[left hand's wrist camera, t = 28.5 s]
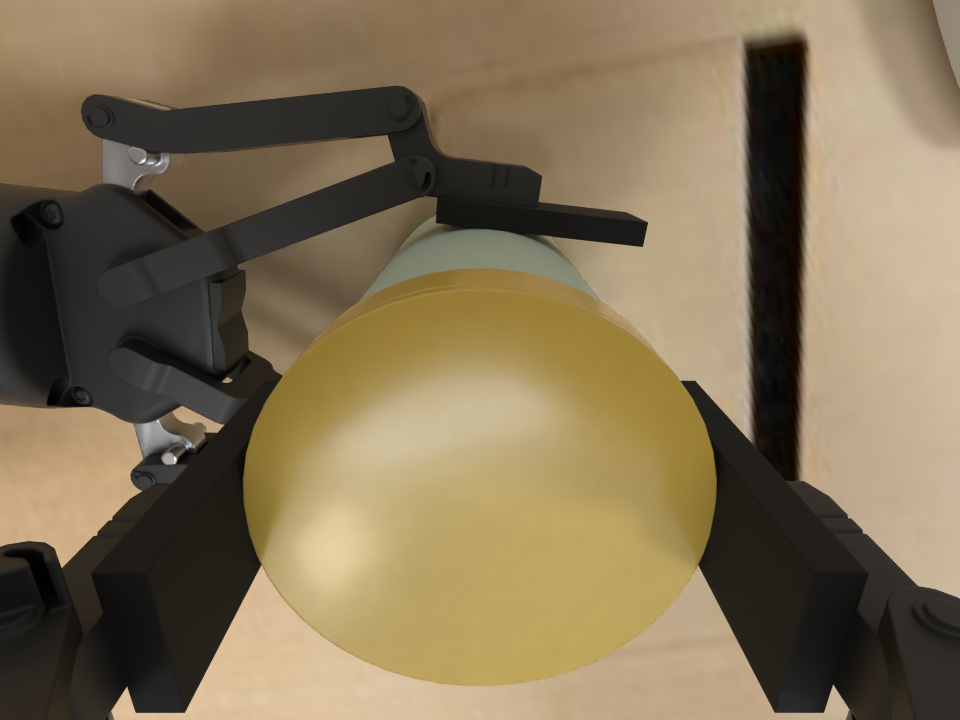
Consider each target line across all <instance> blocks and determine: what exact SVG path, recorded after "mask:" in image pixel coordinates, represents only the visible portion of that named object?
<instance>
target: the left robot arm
mask: <svg viewBox="0 0 960 720" xmlns="http://www.w3.org/2000/svg"><path fill="white" fill-rule="evenodd" d="M278 383H279V381H264V382H263V383H262V384H261V385H260V386H259V388H258V389H257V390H256V391H255V392H254V393H253V394H252V395H251V396H250V397H249V399H248V400H247V401H246V402H245V403H244V404H243V405H242V406H241V407H240V409H239V410H238V411H237V412H236V413H235V414H234V415H233V416H232V417H231V418H230V420H229V421H228V422H227V423H226V424H225V425H224V426H223V427H222V428H221V430H220V431H219V432H218V433H217V434H216V435H215V436H214V437H213V438H212V439H211V441H210V442H209V443H208V444H207V445H206V446H205V447H204V448H203V449H202V450H201V452H200V453H199V454H198V455H197V456H196V457H195V458H194V459H193V460H192V462H191V463H190V464H189V465H188V466H187V467H186V468H185V469H184V470H183V471H182V473H181V474H180V475H179V476H178V477H177V478H176V479H175V480H174V481H173V483H155V484H154V485H152V486H150V487H149V488H147V489H146V490H144V491H142V492H141V493H139V494H137V495H136V496H134V497H132V498H131V499H130V500H129V501H128V502H127V503H126V504H125V505H124V506H123V507H122V508H121V509H120V510H119V511H118V512H117V513H116V514H115V515H114V516H113V519H112V521H108V522H107V523H106V524H105V525H104V526H103V527H102V528H101V529H100V530H99V531H98V534H97V536H93V537H92V538H91V539H90V540H89V541H88V542H87V543H86V544H85V545H84V546H83V547H82V548H81V549H80V550H79V551H78V553H77V554H76V555H75V556H74V557H73V558H72V559H71V560H70V561H69V562H68V563H67V564H66V565H65V566H64V567H63V568H61V565H60V563H59V560H58V557H57V554H56V551H55V549H54V548H53V547H51V546H50V545H48V544H47V543H44V542H32V541H27V542H20V543H14V544H8V545H5V546H1V547H0V720H114V718H113V715H112V712H111V710H112V709H113V707H114V706H115V704H116V703H117V701H118V699H119V698H120V696H121V695H122V693H123V692H124V690H125V689H126V687H128V690H129V693H130V696H131V700H132V703H133V706H134V709H135V712H136V713H185V711H186V710H187V708H188V706H189V704H190V702H191V700H192V698H193V696H194V694H195V692H196V690H197V688H198V686H199V684H200V682H201V681H202V679H203V677H204V675H205V673H206V671H207V669H208V667H209V665H210V663H211V661H212V659H213V657H214V655H215V653H216V652H217V650H218V648H219V646H220V644H221V642H222V640H223V638H224V636H225V634H226V632H227V630H228V628H229V626H230V624H231V623H232V621H233V619H234V617H235V615H236V613H237V611H238V609H239V607H240V605H241V603H242V601H243V599H244V597H245V596H246V594H247V592H248V590H249V588H250V586H251V584H252V582H253V580H254V578H255V576H256V574H257V572H258V570H259V568H260V567H261V565H262V564H261V563H260V561H259V559H258V557H257V554H256V551H255V549H254V546H253V543H252V540H251V537H250V534H249V528H248V523H247V518H246V512H245V507H244V500H243V474H244V466H245V458H246V452H247V448H248V445H249V441H250V438H251V435H252V431H253V428H254V425H255V423H256V421H257V419H258V417H259V415H260V412H261V410H262V408H263V406H264V404H265V402H266V400H267V399H268V397H269V396H270V394H271V393H272V391H273V390H274V388H275V387H276V385H277V384H278ZM681 383H682V384H683V386H684V387H685V389H686V390H687V391H688V393H689V394H690V396H691V397H692V399H693V401H694V403H695V405H696V407H697V409H698V411H699V413H700V415H701V417H702V419H703V421H704V423H705V425H706V429H707V432H708V435H709V439H710V442H711V445H712V448H713V453H714V460H715V467H716V475H717V494H716V504H715V510H714V515H713V521H712V526H711V531H710V536H709V539H708V542H707V545H706V548H705V551H704V554H703V556H702V558H701V560H700V562H699V564H698V565H699V567H700V569H701V571H702V573H703V575H704V577H705V579H706V581H707V583H708V585H709V587H710V588H711V590H712V592H713V594H714V596H715V598H716V600H717V602H718V604H719V606H720V608H721V610H722V612H723V614H724V616H725V617H726V619H727V621H728V623H729V625H730V627H731V629H732V631H733V633H734V635H735V637H736V639H737V641H738V643H739V645H740V646H741V648H742V650H743V652H744V654H745V656H746V658H747V660H748V662H749V664H750V666H751V668H752V670H753V672H754V673H755V675H756V677H757V679H758V681H759V683H760V685H761V687H762V689H763V691H764V693H765V695H766V697H767V699H768V701H769V702H770V704H771V706H772V708H773V710H774V712H775V713H824V711H825V708H826V704H827V701H828V698H829V695H830V692H831V689H832V686H833V685H834V686H835V688H836V689H837V691H838V692H839V694H840V696H841V697H842V699H843V700H844V702H845V703H846V705H847V706H848V708H849V712H848V715H847V718H846V720H960V599H959V598H957V597H955V596H952V595H949V594H947V593H944V592H941V591H938V590H936V589H931V588H925V587H919V586H917V585H916V584H915V583H914V582H913V581H912V580H911V579H910V578H909V576H908V575H907V574H906V573H905V572H904V571H903V570H902V569H901V568H900V567H899V566H898V565H897V564H896V563H895V562H894V561H893V560H892V559H891V558H890V557H889V556H888V555H887V554H886V553H885V552H884V551H883V550H882V549H881V548H880V547H879V546H878V545H877V544H876V543H875V542H874V541H873V540H872V539H871V538H870V537H869V536H868V535H867V534H863V532H862V531H863V530H862V529H861V528H860V527H859V526H858V525H857V524H856V523H855V522H854V521H853V520H852V519H848V515H847V514H846V513H845V512H844V511H843V510H842V509H841V508H840V507H839V506H838V505H837V504H836V503H835V502H834V501H833V500H832V499H831V498H830V497H829V496H828V495H826V494H824V493H823V492H821V491H819V490H818V489H816V488H814V487H813V486H811V485H809V484H808V483H806V482H804V481H785V480H784V479H783V477H782V476H781V475H780V474H779V473H778V472H777V471H776V470H775V469H774V467H773V466H772V465H771V464H770V463H769V462H768V461H767V460H766V459H765V458H764V456H763V455H762V454H761V453H760V452H759V451H758V450H757V449H756V448H755V446H754V445H753V444H752V443H751V442H750V441H749V440H748V439H747V438H746V437H745V435H744V434H743V433H742V432H741V431H740V430H739V429H738V428H737V427H736V425H735V424H734V423H733V422H732V421H731V420H730V419H729V418H728V417H727V416H726V414H725V413H724V412H723V411H722V410H721V409H720V408H719V407H718V406H717V404H716V403H715V402H714V401H713V400H712V399H711V398H710V397H709V396H708V395H707V393H706V392H705V391H704V390H703V389H702V388H701V387H700V386H699V385H698V383H697V382H696V381H681Z"/></svg>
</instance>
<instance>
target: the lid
mask: <svg viewBox="0 0 960 720" xmlns="http://www.w3.org/2000/svg"><path fill="white" fill-rule="evenodd" d="M716 494H717V475H716V467H715V460H714V453H713V448H712V445H711V442H710V439H709V435H708V432H707V429H706V425H705V423H704V421H703V419H702V417H701V415H700V413H699V411H698V409H697V407H696V405H695V403H694V401H693V399H692V397H691V396H690V394H689V393H688V391H687V390H686V389H685V387H684V386H683V384H682V383H681V381H680V380H679V379H678V377H677V376H676V374H675V373H674V372H673V371H672V370H671V368H670V367H669V366H668V365H667V364H666V362H665V361H664V360H663V359H662V358H661V357H660V355H659V354H658V353H657V352H656V351H655V349H654V348H653V347H652V346H651V345H650V344H649V343H648V342H647V340H646V339H645V338H644V337H643V336H642V335H641V334H640V333H639V332H638V331H637V330H636V329H635V328H634V327H633V326H632V325H631V324H630V323H629V322H628V321H626V320H625V319H624V318H623V317H621V316H620V315H619V314H617V313H616V312H615V311H614V310H612V309H611V308H610V307H609V306H607V305H605V304H603V303H602V302H600V301H598V300H597V299H595V298H593V297H591V296H590V295H588V294H586V293H584V292H583V291H580V290H578V289H575V288H573V287H570V286H568V285H566V284H563V283H561V282H558V281H556V280H552V279H549V278H545V277H541V276H537V275H533V274H530V273H526V272H518V271H510V270H502V269H457V270H450V271H442V272H435V273H430V274H426V275H423V276H419V277H415V278H412V279H408V280H404V281H401V282H399V283H397V284H394V285H392V286H389V287H387V288H385V289H382V290H380V291H378V292H375V293H373V294H372V295H370V296H368V297H367V298H365V299H363V300H362V301H360V302H358V303H357V304H355V305H353V306H352V307H350V308H349V309H347V310H346V311H345V312H344V313H342V314H341V315H340V316H339V317H337V318H336V319H335V320H334V321H332V322H331V323H330V324H329V325H327V326H326V328H325V329H324V330H323V331H322V332H321V333H320V334H319V335H318V336H317V337H316V338H315V339H314V340H313V341H312V343H311V344H310V345H309V346H308V347H307V348H306V349H305V351H304V352H303V353H302V354H301V355H300V356H299V358H298V359H297V360H296V361H295V362H294V364H293V365H292V366H291V367H290V368H289V370H288V371H287V372H286V373H285V374H284V375H283V377H282V378H281V380H280V381H279V383H278V384H277V385H276V387H275V388H274V390H273V391H272V393H271V394H270V396H269V397H268V399H267V400H266V402H265V404H264V406H263V408H262V410H261V412H260V415H259V417H258V419H257V421H256V423H255V425H254V428H253V431H252V435H251V438H250V441H249V445H248V448H247V452H246V458H245V466H244V474H243V500H244V507H245V512H246V518H247V523H248V528H249V534H250V537H251V540H252V543H253V546H254V549H255V551H256V554H257V557H258V559H259V561H260V563H261V564H262V566H263V568H264V570H265V572H266V574H267V576H268V578H269V579H270V581H271V582H272V584H273V585H274V586H275V588H276V589H277V591H278V592H279V593H280V595H281V596H282V598H283V599H284V600H285V601H286V602H287V604H288V605H289V606H290V607H291V608H292V609H293V610H294V611H295V612H296V613H297V614H298V615H299V617H300V618H301V619H303V620H304V621H305V622H306V623H307V624H308V625H310V626H311V627H312V628H313V629H314V630H315V631H317V632H318V633H319V634H320V635H321V636H323V637H324V638H326V639H327V640H329V641H330V642H332V643H333V644H335V645H336V646H338V647H339V648H341V649H342V650H344V651H346V652H348V653H350V654H352V655H354V656H356V657H358V658H359V659H361V660H363V661H365V662H368V663H370V664H373V665H375V666H378V667H380V668H383V669H385V670H388V671H390V672H394V673H397V674H401V675H404V676H407V677H411V678H414V679H419V680H425V681H430V682H435V683H441V684H451V685H462V686H498V685H508V684H518V683H525V682H530V681H535V680H540V679H545V678H549V677H552V676H556V675H559V674H562V673H566V672H569V671H572V670H575V669H577V668H580V667H582V666H584V665H587V664H589V663H592V662H594V661H597V660H598V659H600V658H602V657H604V656H606V655H608V654H610V653H611V652H613V651H615V650H617V649H619V648H620V647H622V646H623V645H625V644H626V643H628V642H629V641H631V640H632V639H634V638H635V637H637V636H638V635H639V634H641V633H642V632H643V631H644V630H645V629H647V628H648V627H649V626H650V625H651V624H652V623H653V622H655V621H656V620H657V619H658V618H659V617H660V616H661V615H662V614H663V613H664V612H665V611H666V610H667V609H668V607H669V606H670V605H671V604H672V603H673V602H674V601H675V600H676V599H677V597H678V596H679V595H680V593H681V592H682V590H683V589H684V587H685V586H686V585H687V583H688V582H689V580H690V579H691V577H692V576H693V574H694V572H695V570H696V568H697V566H698V564H699V562H700V560H701V558H702V556H703V554H704V551H705V548H706V545H707V542H708V539H709V536H710V531H711V526H712V521H713V515H714V510H715V504H716Z"/></svg>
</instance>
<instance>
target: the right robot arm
mask: <svg viewBox="0 0 960 720" xmlns="http://www.w3.org/2000/svg"><path fill="white" fill-rule="evenodd" d="M81 114H82V119H83V122H84V123H85V125H86V127H87V129H89V130H90V131H91V132H92V133H93V134H94V135H96V136H98V137H100V138H102V139H103V147H102V184H99V185H95V186H93V187H90V188H89V189H87V190H85V191H83V192H73V191H64V190H55V189H46V188H37V187H28V186H20V185H11V184H2V183H0V404H4V405H15V406H25V407H35V408H71V407H93V408H97V409H100V410H103V411H106V412H108V413H110V414H112V415H114V416H116V417H117V418H119V419H121V420H123V421H126V422H129V423H133V424H134V428H135V431H136V435H137V438H138V441H139V445H140V448H141V452H142V455H143V460H142V461H141V462H140V463H139V464H138V465H137V466H136V467H135V468H134V469H133V470H132V472H131V480H132V482H133V484H134V485H135V486H136V487H137V488H138V489H140V490H142V491H144V490H146V489H147V488H149V487H150V486H152V485H154V484H155V483H173V481H174V480H175V479H176V478H177V477H178V476H179V475H180V474H181V473H182V471H183V470H184V469H185V468H186V467H187V466H188V465H189V464H190V463H191V462H192V460H193V459H194V458H195V457H196V456H197V455H198V454H199V453H200V452H201V450H202V449H203V448H204V447H205V446H206V445H207V444H208V443H209V442H210V441H211V439H212V438H213V437H214V436H215V435H216V434H217V433H206V427H205V426H204V425H203V424H202V423H199V422H198V423H194V424H193V425H192V424H187V423H183V422H181V421H180V420H178V419H177V418H176V417H175V416H174V414H173V412H172V411H173V410H175V409H177V408H179V407H180V406H184V407H186V408H188V409H190V410H192V411H194V412H196V413H198V414H200V415H202V416H204V417H206V418H208V419H210V420H212V421H214V422H216V423H219V424H224V425H225V424H226V423H227V422H228V421H229V420H230V418H231V417H232V416H233V415H234V414H235V413H236V412H237V411H238V410H239V409H240V407H241V406H242V405H243V404H244V403H245V402H246V401H247V400H248V399H249V397H250V396H251V395H252V394H253V393H254V392H255V391H256V390H257V389H258V388H259V386H260V385H261V384H262V383H263V382H264V381H280V380H281V378H282V377H283V376H282V375H281V374H279V373H277V372H276V371H275V370H274V369H273V367H272V364H271V363H270V362H269V361H267V360H266V359H264V358H262V357H260V356H258V355H257V354H255V353H253V352H251V351H249V348H248V330H247V327H246V324H245V321H244V318H243V315H242V311H241V309H242V305H243V301H244V297H245V293H246V279H245V270H239V268H238V266H237V265H238V264H240V263H243V262H245V261H248V260H250V259H253V258H256V257H259V256H261V255H264V254H267V253H270V252H272V251H275V250H278V249H280V248H283V247H286V246H289V245H291V244H294V243H297V242H299V241H302V240H305V239H308V238H310V237H313V236H316V235H319V234H321V233H324V232H327V231H329V230H332V229H335V228H338V227H340V226H343V225H346V224H348V223H351V222H354V221H357V220H359V219H362V218H365V217H368V216H370V215H373V214H376V213H378V212H381V211H384V210H387V209H389V208H392V207H395V206H397V205H400V204H403V203H406V202H408V201H411V200H414V199H417V198H419V197H422V198H423V197H424V196H429V197H438V199H437V211H436V223H437V224H446V225H455V226H464V227H473V228H481V229H490V230H499V231H508V232H516V233H525V234H534V235H543V236H551V237H560V238H569V239H578V240H587V241H595V242H604V243H613V244H622V245H630V246H639V247H643V243H644V239H645V234H646V230H647V225H648V222H646V221H644V220H642V219H639V218H637V217H635V216H633V215H631V214H629V213H627V212H619V211H610V210H602V209H593V208H585V207H576V206H568V205H559V204H550V203H542V202H538V201H539V194H540V187H541V180H542V176H541V175H539V174H538V173H536V172H534V171H533V170H531V169H529V168H527V167H525V166H523V165H514V164H506V163H497V162H489V161H481V160H472V159H464V158H455V157H451V156H448V155H446V154H444V153H443V152H441V151H440V150H439V149H438V147H437V146H436V144H435V142H434V139H433V136H432V132H431V129H430V125H429V121H428V117H427V109H426V106H425V103H424V102H423V101H422V99H421V98H420V97H419V96H417V95H416V94H415V93H414V92H412V91H411V90H409V89H407V88H406V87H402V86H390V87H380V88H371V89H362V90H352V91H343V92H334V93H324V94H315V95H306V96H296V97H287V98H278V99H268V100H259V101H250V102H241V103H231V104H222V105H213V106H203V107H194V108H185V109H177V108H173V107H170V106H166V105H162V104H159V103H155V102H151V101H146V100H138V99H130V98H122V97H114V96H107V95H95V94H94V95H92V96H90V97H87V99H86V100H85V101H84V102H83V104H82V109H81ZM383 135H388V138H389V141H390V145H391V148H392V152H393V155H394V159H395V162H393V163H390V164H387V165H385V166H382V167H379V168H377V169H374V170H372V171H369V172H366V173H364V174H361V175H358V176H356V177H353V178H350V179H348V180H345V181H342V182H340V183H337V184H334V185H332V186H329V187H327V188H324V189H321V190H319V191H316V192H313V193H311V194H308V195H305V196H303V197H300V198H297V199H295V200H292V201H289V202H287V203H284V204H282V205H279V206H276V207H274V208H271V209H268V210H266V211H263V212H260V213H258V214H255V215H252V216H250V217H247V218H244V219H242V220H239V221H237V222H234V223H231V224H229V225H226V226H223V227H220V228H217V229H215V230H212V231H209V232H204V231H203V230H202V229H200V228H199V227H198V226H197V225H195V224H194V223H193V222H192V221H190V220H189V219H188V218H187V217H185V216H184V215H183V214H182V213H180V212H179V211H178V210H176V209H175V208H174V207H173V206H171V205H170V204H169V203H168V202H166V201H165V200H164V199H163V198H161V197H160V196H159V195H158V194H156V193H155V192H154V191H152V190H151V189H150V183H151V181H152V179H153V178H154V177H155V176H156V175H158V174H166V173H174V172H176V171H178V170H179V169H181V167H182V166H183V164H184V160H185V157H186V153H212V152H230V151H239V150H249V149H258V148H268V147H278V146H287V145H297V144H306V143H316V142H326V141H335V140H345V139H354V138H364V137H374V136H383ZM227 377H229V378H231V379H233V381H232V382H230V383H223V382H222V381H223V380H224V379H225V378H227Z"/></svg>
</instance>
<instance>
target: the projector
mask: <svg viewBox="0 0 960 720" xmlns="http://www.w3.org/2000/svg"><path fill="white" fill-rule="evenodd" d="M932 1H933V5H934V8H935V12H936V16H937V20H938V24H939V28H940V31H941V34H942V38H943V41H944V44H945V48H946V51H947V54H948V58H949V61H950V64H951V67H952V70H953V73H954V75H955V78H956V81H957V83H958V86H959V89H960V0H932Z"/></svg>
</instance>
